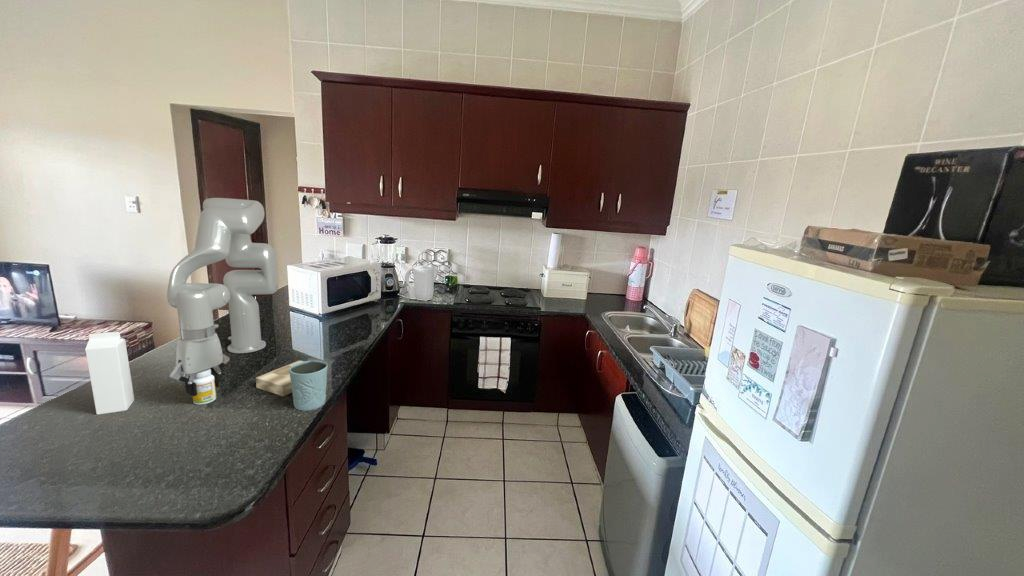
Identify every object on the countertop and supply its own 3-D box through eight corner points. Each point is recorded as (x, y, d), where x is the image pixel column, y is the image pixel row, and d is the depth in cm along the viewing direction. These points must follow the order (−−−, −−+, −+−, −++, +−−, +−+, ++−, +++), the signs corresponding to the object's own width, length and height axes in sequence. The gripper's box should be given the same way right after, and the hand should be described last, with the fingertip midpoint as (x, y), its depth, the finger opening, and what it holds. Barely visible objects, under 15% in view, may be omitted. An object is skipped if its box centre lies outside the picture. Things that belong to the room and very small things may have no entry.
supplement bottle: (201, 395, 114) (198, 366, 112) (220, 396, 115) (218, 366, 113) (188, 404, 109) (184, 373, 107) (208, 405, 110) (205, 374, 107)
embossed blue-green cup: (290, 414, 108) (288, 376, 106) (291, 398, 117) (289, 362, 114) (329, 408, 113) (328, 371, 110) (328, 392, 122) (326, 358, 119)
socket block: (256, 387, 121) (255, 377, 120) (299, 369, 136) (299, 360, 135) (283, 396, 117) (282, 386, 116) (325, 376, 132) (324, 367, 131)
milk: (126, 410, 104) (115, 335, 99) (96, 415, 101) (82, 338, 96) (134, 400, 109) (124, 328, 105) (105, 404, 106) (93, 330, 102)
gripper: (220, 322, 116) (225, 376, 120) (152, 338, 101) (161, 400, 105) (237, 326, 114) (242, 381, 118) (170, 344, 98) (178, 406, 102)
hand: (203, 389), depth 111 cm, fingers closed on supplement bottle, 5 cm apart
